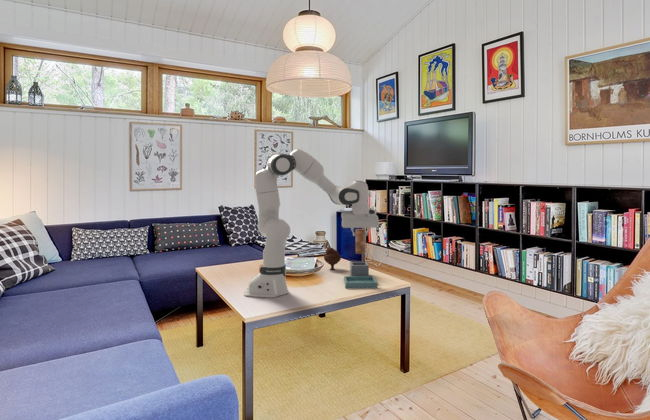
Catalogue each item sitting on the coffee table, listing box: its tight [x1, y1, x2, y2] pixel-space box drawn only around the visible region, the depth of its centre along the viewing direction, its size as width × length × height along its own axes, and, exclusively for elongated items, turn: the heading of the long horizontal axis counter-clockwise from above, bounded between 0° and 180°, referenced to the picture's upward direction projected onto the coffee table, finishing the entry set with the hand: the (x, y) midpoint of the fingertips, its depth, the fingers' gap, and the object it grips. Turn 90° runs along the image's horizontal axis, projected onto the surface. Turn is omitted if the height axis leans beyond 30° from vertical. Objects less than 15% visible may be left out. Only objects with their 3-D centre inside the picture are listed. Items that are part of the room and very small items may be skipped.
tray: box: [343, 275, 378, 289], centre depth 218 cm, size 17×14×3 cm
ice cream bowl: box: [323, 247, 342, 271], centre depth 248 cm, size 11×11×15 cm
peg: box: [355, 228, 366, 255], centre depth 216 cm, size 5×5×13 cm
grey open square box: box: [349, 261, 370, 276], centre depth 232 cm, size 10×10×8 cm
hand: (360, 235), depth 215 cm, fingers closed on peg, 5 cm apart
